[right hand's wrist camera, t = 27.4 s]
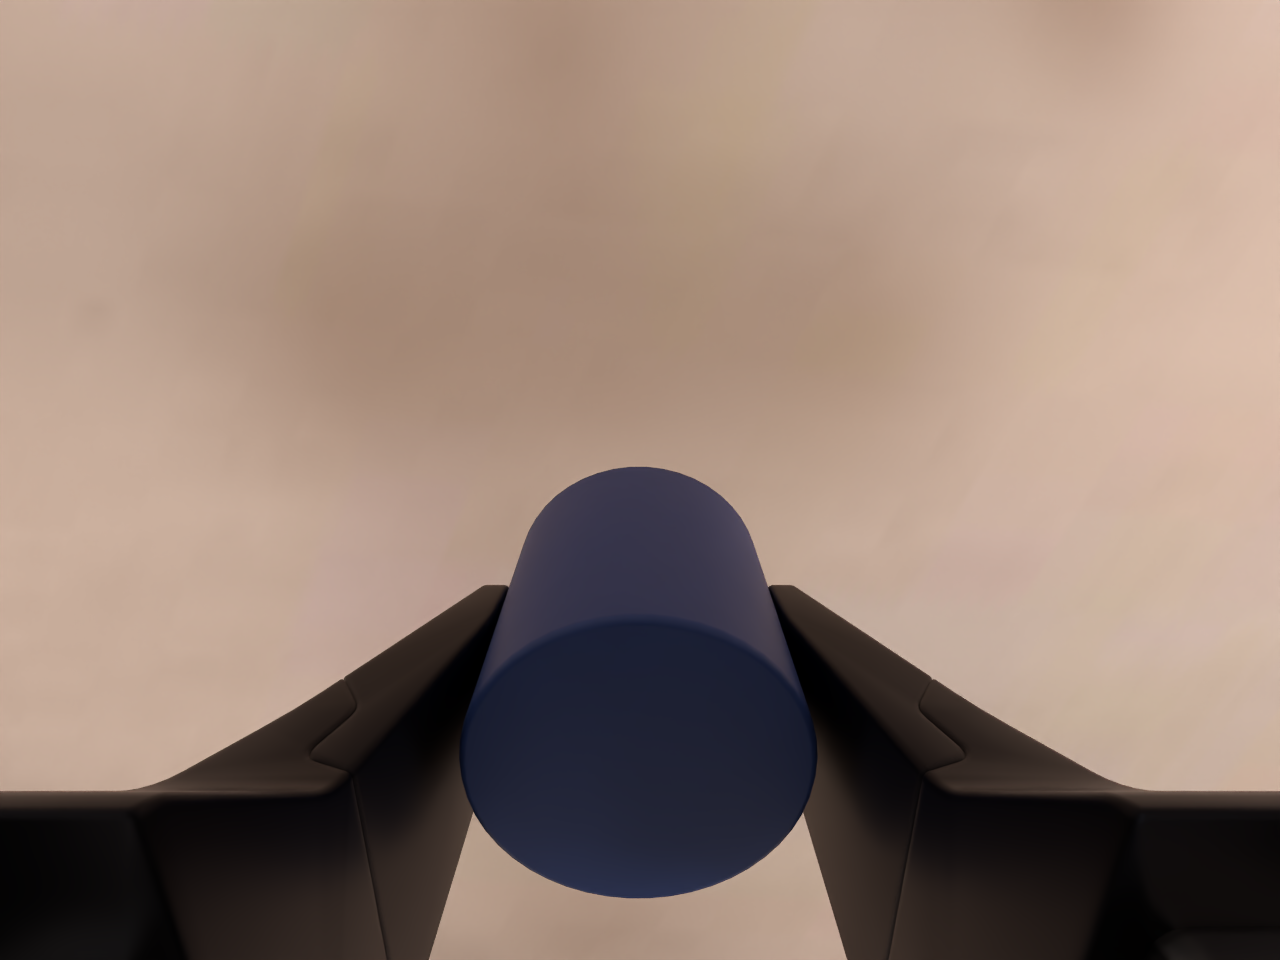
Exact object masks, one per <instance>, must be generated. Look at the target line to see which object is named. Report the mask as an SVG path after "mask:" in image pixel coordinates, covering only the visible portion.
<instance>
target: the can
mask: <svg viewBox="0 0 1280 960" xmlns="http://www.w3.org/2000/svg"><path fill="white" fill-rule="evenodd" d="M817 760H818V752H817V737H816V733H815V729H814V724H813V720H812V717H811V714H810V711H809V708H808V705H807V702H806V699H805V696H804V693H803V690H802V687H801V684H800V681H799V678H798V675H797V672H796V669H795V666H794V663H793V660H792V657H791V654H790V651H789V648H788V645H787V642H786V639H785V636H784V633H783V630H782V627H781V624H780V621H779V618H778V616H777V613H776V610H775V607H774V604H773V601H772V598H771V595H770V592H769V589H768V586H767V583H766V580H765V577H764V574H763V571H762V568H761V565H760V562H759V559H758V556H757V553H756V550H755V547H754V544H753V541H752V539H751V536H750V534H749V531H748V529H747V528H746V526H745V524H744V522H743V521H742V519H741V517H740V516H739V515H738V514H737V512H736V511H735V510H734V509H733V507H732V506H731V505H730V504H729V503H728V502H727V501H726V500H725V499H724V498H723V497H722V496H721V495H719V494H718V493H716V492H715V491H714V490H712V489H711V488H710V487H708V486H706V485H705V484H703V483H701V482H699V481H697V480H695V479H693V478H691V477H688V476H686V475H683V474H680V473H677V472H673V471H669V470H665V469H659V468H651V467H626V468H618V469H612V470H608V471H604V472H600V473H597V474H594V475H592V476H589V477H587V478H584V479H582V480H580V481H578V482H576V483H575V484H573V485H571V486H569V487H568V488H566V489H565V490H564V491H562V492H561V493H560V494H558V495H557V496H556V497H555V498H554V499H553V500H552V501H550V502H549V503H548V504H547V505H546V506H545V508H544V509H543V510H542V511H541V513H540V514H539V515H538V517H537V518H536V519H535V521H534V523H533V525H532V526H531V528H530V530H529V532H528V535H527V537H526V540H525V542H524V545H523V548H522V551H521V554H520V557H519V560H518V563H517V566H516V569H515V572H514V574H513V577H512V580H511V583H510V586H509V589H508V592H507V595H506V598H505V601H504V604H503V607H502V610H501V613H500V616H499V619H498V622H497V625H496V628H495V631H494V634H493V637H492V639H491V642H490V645H489V648H488V651H487V654H486V657H485V660H484V663H483V666H482V669H481V672H480V675H479V678H478V681H477V684H476V687H475V690H474V693H473V696H472V699H471V702H470V704H469V707H468V710H467V713H466V716H465V719H464V723H463V727H462V732H461V737H460V748H459V762H460V770H461V778H462V782H463V785H464V788H465V792H466V795H467V799H468V801H469V803H470V805H471V807H472V809H473V811H474V813H475V815H476V817H477V818H478V820H479V822H480V823H481V825H482V826H483V828H484V829H485V831H486V832H487V833H488V834H489V835H490V836H491V837H492V839H493V840H494V841H495V842H496V843H497V844H498V845H499V846H500V847H501V848H502V849H503V850H504V851H506V852H507V853H508V854H509V855H510V856H511V857H512V858H514V859H515V860H517V861H518V862H520V863H521V864H522V865H524V866H525V867H527V868H528V869H530V870H532V871H534V872H536V873H537V874H539V875H541V876H543V877H545V878H547V879H549V880H552V881H554V882H557V883H559V884H561V885H564V886H566V887H570V888H573V889H577V890H580V891H584V892H587V893H593V894H598V895H603V896H610V897H621V898H656V897H666V896H674V895H679V894H684V893H689V892H693V891H697V890H700V889H703V888H707V887H710V886H713V885H715V884H718V883H720V882H723V881H725V880H727V879H730V878H732V877H734V876H736V875H737V874H739V873H741V872H743V871H745V870H747V869H749V868H750V867H751V866H753V865H754V864H756V863H757V862H759V861H760V860H761V859H763V858H764V857H766V856H767V855H768V854H769V853H770V852H771V851H772V850H773V849H774V848H776V847H777V846H778V845H779V844H780V843H781V842H782V841H783V839H784V838H785V837H786V836H787V835H788V834H789V832H790V831H791V830H792V829H793V827H794V826H795V824H796V823H797V821H798V820H799V818H800V816H801V815H802V813H803V811H804V809H805V807H806V804H807V802H808V800H809V798H810V795H811V791H812V787H813V784H814V780H815V776H816V768H817Z"/></svg>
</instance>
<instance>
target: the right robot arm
mask: <svg viewBox="0 0 1280 960" xmlns="http://www.w3.org/2000/svg"><path fill="white" fill-rule="evenodd" d="M508 589H509V587H508V586H506V585H485V586H482V587H481V588H479V589H478V590H476V591H475V592H473V593H472V594H470V595H469V596H467V597H466V598H464V599H463V600H461V601H459V602H458V603H456V604H455V605H453V606H452V607H450V608H449V609H447V610H446V611H444V612H443V613H441V614H440V615H438V616H437V617H435V618H434V619H432V620H431V621H429V622H428V623H426V624H425V625H423V626H422V627H420V628H419V629H417V630H415V631H414V632H412V633H411V634H409V635H408V636H406V637H405V638H403V639H402V640H400V641H399V642H397V643H396V644H394V645H393V646H391V647H390V648H388V649H387V650H385V651H384V652H382V653H381V654H379V655H378V656H376V657H374V658H373V659H371V660H370V661H368V662H367V663H365V664H364V665H362V666H361V667H359V668H358V669H356V670H355V671H353V672H352V673H350V674H349V675H347V676H346V677H345V678H344V680H343V679H341V680H339V681H338V682H336V683H335V684H333V685H332V686H330V687H329V688H327V689H326V690H324V691H323V692H321V693H319V694H318V695H316V696H315V697H313V698H312V699H310V700H308V701H307V702H305V703H304V704H302V705H300V706H299V707H297V708H296V709H294V710H292V711H290V712H289V713H287V714H285V715H283V716H282V717H280V718H278V719H276V720H275V721H273V722H271V723H269V724H268V725H266V726H264V727H262V728H261V729H259V730H257V731H255V732H253V733H252V734H250V735H248V736H246V737H244V738H243V739H241V740H239V741H237V742H235V743H233V744H232V745H230V746H228V747H226V748H224V749H223V750H221V751H219V752H217V753H215V754H214V755H212V756H210V757H208V758H206V759H205V760H203V761H201V762H199V763H197V764H196V765H194V766H192V767H190V768H188V769H187V770H185V771H183V772H181V773H179V774H177V775H175V776H173V777H171V778H169V779H166V780H164V781H161V782H159V783H156V784H153V785H150V786H146V787H142V788H139V789H132V790H126V791H0V960H429V957H430V953H431V950H432V947H433V943H434V940H435V937H436V934H437V930H438V927H439V924H440V920H441V917H442V914H443V910H444V907H445V904H446V900H447V897H448V894H449V891H450V887H451V884H452V881H453V877H454V874H455V871H456V867H457V864H458V861H459V857H460V854H461V851H462V848H463V844H464V841H465V838H466V834H467V831H468V828H469V824H470V821H471V818H472V814H473V809H472V807H471V805H470V803H469V801H468V799H467V795H466V792H465V788H464V785H463V782H462V778H461V770H460V762H459V748H460V737H461V732H462V727H463V723H464V719H465V716H466V713H467V710H468V707H469V704H470V702H471V699H472V696H473V693H474V690H475V687H476V684H477V681H478V678H479V675H480V672H481V669H482V666H483V663H484V660H485V657H486V654H487V651H488V648H489V645H490V642H491V639H492V637H493V634H494V631H495V628H496V625H497V622H498V619H499V616H500V613H501V610H502V607H503V604H504V601H505V598H506V595H507V592H508ZM768 589H769V592H770V595H771V598H772V601H773V604H774V607H775V610H776V613H777V616H778V618H779V621H780V624H781V627H782V630H783V633H784V636H785V639H786V642H787V645H788V648H789V651H790V654H791V657H792V660H793V663H794V666H795V669H796V672H797V675H798V678H799V681H800V684H801V687H802V690H803V693H804V696H805V699H806V702H807V705H808V708H809V711H810V714H811V717H812V720H813V724H814V729H815V733H816V737H817V752H818V760H817V768H816V776H815V780H814V784H813V787H812V791H811V795H810V798H809V800H808V802H807V804H806V807H805V809H804V811H803V813H804V816H805V820H806V823H807V826H808V830H809V833H810V836H811V840H812V843H813V846H814V850H815V853H816V856H817V860H818V863H819V866H820V870H821V873H822V877H823V880H824V883H825V887H826V890H827V893H828V897H829V900H830V903H831V907H832V910H833V913H834V917H835V920H836V923H837V927H838V930H839V933H840V937H841V940H842V943H843V947H844V950H845V954H846V957H847V960H1280V791H1148V790H1142V789H1136V788H1132V787H1128V786H1125V785H1121V784H1119V783H1116V782H1113V781H1111V780H1108V779H1106V778H1104V777H1102V776H1100V775H1098V774H1096V773H1094V772H1092V771H1090V770H1088V769H1086V768H1085V767H1083V766H1081V765H1079V764H1077V763H1076V762H1074V761H1072V760H1070V759H1068V758H1067V757H1065V756H1063V755H1061V754H1059V753H1058V752H1056V751H1054V750H1052V749H1050V748H1049V747H1047V746H1045V745H1043V744H1042V743H1040V742H1038V741H1036V740H1034V739H1033V738H1031V737H1029V736H1027V735H1025V734H1024V733H1022V732H1020V731H1018V730H1016V729H1015V728H1013V727H1011V726H1009V725H1008V724H1006V723H1004V722H1002V721H1001V720H999V719H997V718H995V717H994V716H992V715H990V714H989V713H987V712H985V711H983V710H982V709H980V708H978V707H977V706H975V705H974V704H972V703H970V702H969V701H967V700H966V699H964V698H963V697H961V696H959V695H958V694H956V693H955V692H953V691H952V690H950V689H949V688H947V687H946V686H944V685H943V684H941V683H940V682H938V681H937V680H934V679H933V680H932V678H931V677H930V676H929V675H927V674H926V673H924V672H923V671H921V670H920V669H918V668H917V667H915V666H914V665H912V664H911V663H909V662H908V661H906V660H905V659H903V658H902V657H900V656H899V655H897V654H896V653H894V652H893V651H891V650H890V649H888V648H887V647H885V646H884V645H882V644H881V643H879V642H878V641H876V640H875V639H873V638H872V637H870V636H869V635H867V634H866V633H864V632H863V631H861V630H859V629H858V628H856V627H855V626H853V625H852V624H850V623H849V622H847V621H846V620H844V619H843V618H841V617H840V616H838V615H837V614H835V613H834V612H832V611H831V610H829V609H828V608H826V607H825V606H823V605H822V604H820V603H819V602H817V601H816V600H814V599H813V598H811V597H810V596H808V595H807V594H805V593H804V592H802V591H801V590H799V589H798V588H796V587H795V586H792V585H771V586H769V587H768Z"/></svg>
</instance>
